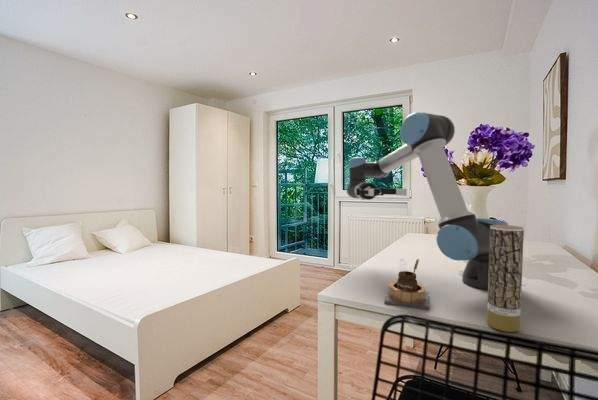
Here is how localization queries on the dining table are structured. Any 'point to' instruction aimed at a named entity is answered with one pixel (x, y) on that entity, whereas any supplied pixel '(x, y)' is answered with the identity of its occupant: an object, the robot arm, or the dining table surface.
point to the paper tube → (505, 277)
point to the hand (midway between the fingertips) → (389, 192)
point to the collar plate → (407, 297)
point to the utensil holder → (407, 279)
